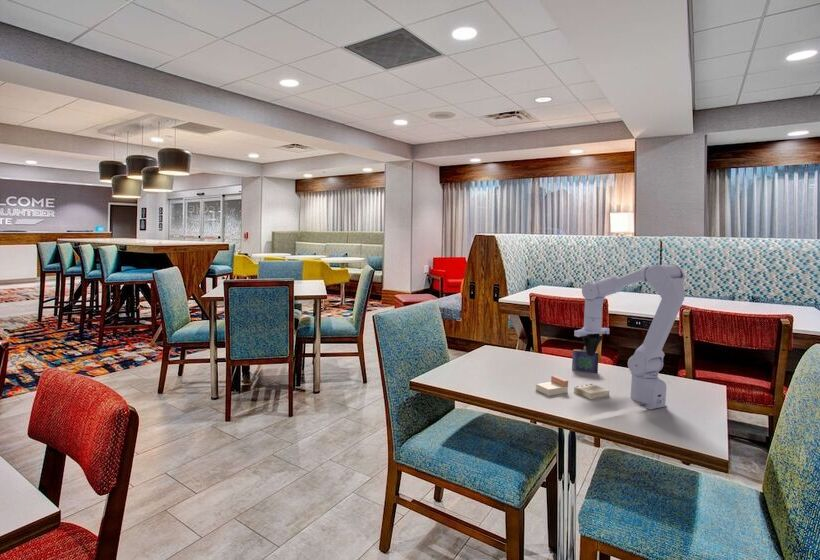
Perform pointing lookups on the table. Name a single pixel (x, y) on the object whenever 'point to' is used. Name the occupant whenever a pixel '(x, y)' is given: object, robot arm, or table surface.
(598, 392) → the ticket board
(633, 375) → the robot arm
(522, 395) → the table surface
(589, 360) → the flask
